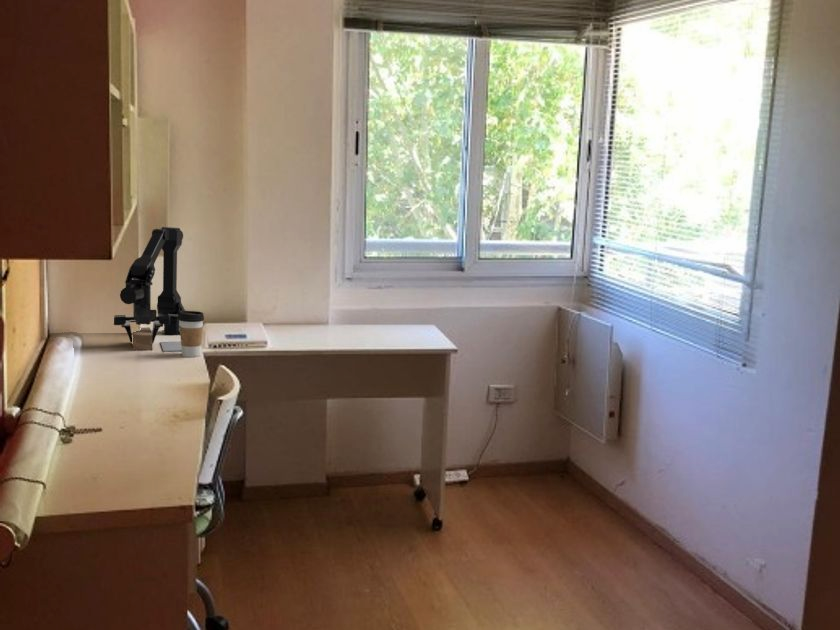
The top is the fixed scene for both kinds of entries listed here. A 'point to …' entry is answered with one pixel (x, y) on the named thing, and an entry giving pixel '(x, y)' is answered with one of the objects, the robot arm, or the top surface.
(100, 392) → the top surface
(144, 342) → the walnut cover
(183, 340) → the coffee cup
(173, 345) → the felt mat
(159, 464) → the top surface
